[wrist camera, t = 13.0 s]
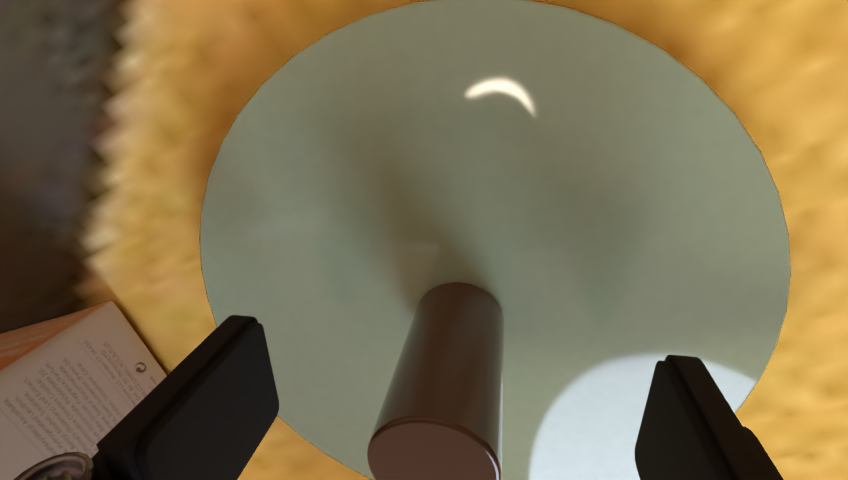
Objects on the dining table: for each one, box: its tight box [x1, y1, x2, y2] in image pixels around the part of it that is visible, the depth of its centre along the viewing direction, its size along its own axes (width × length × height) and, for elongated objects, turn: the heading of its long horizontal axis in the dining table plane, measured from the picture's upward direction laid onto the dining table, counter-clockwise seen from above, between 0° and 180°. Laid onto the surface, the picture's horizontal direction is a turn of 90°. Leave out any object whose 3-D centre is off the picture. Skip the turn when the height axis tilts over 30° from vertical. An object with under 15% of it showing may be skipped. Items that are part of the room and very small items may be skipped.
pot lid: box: [199, 0, 791, 480], centre depth 11 cm, size 17×17×6 cm
